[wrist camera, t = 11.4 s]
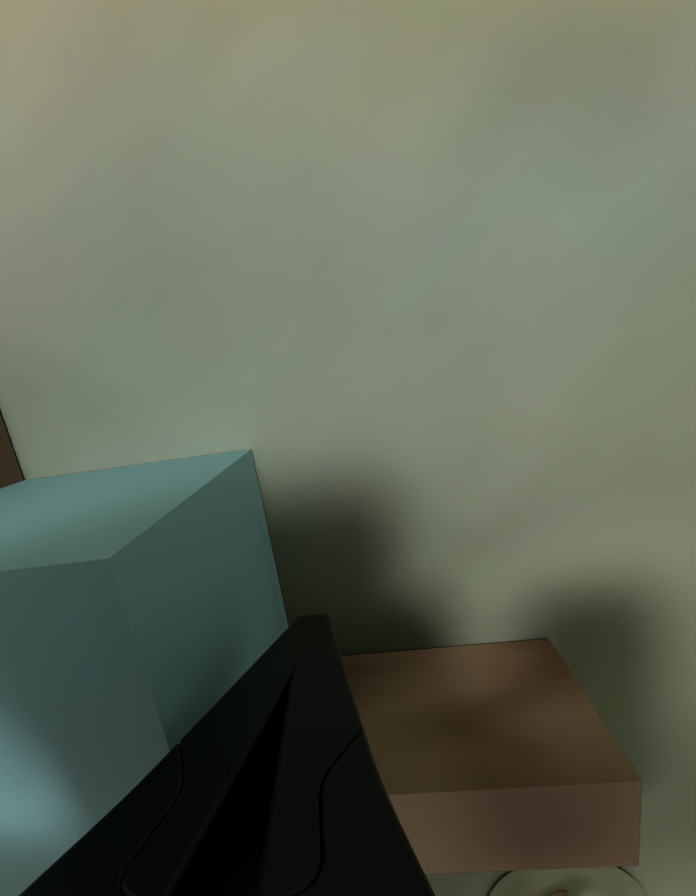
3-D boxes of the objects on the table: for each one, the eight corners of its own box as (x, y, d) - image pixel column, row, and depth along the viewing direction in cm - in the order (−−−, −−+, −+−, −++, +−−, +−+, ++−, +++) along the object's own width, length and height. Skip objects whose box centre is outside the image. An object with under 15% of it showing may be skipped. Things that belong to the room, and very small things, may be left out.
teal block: (251, 449, 11) (108, 558, 5) (295, 657, 12) (228, 933, 6) (24, 480, 11) (-355, 611, 5) (93, 675, 13) (-141, 944, 7)
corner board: (536, 252, 9) (664, 171, 5) (550, 701, 12) (638, 866, 8) (-102, 358, 10) (-380, 356, 7) (50, 738, 13) (-80, 893, 9)
